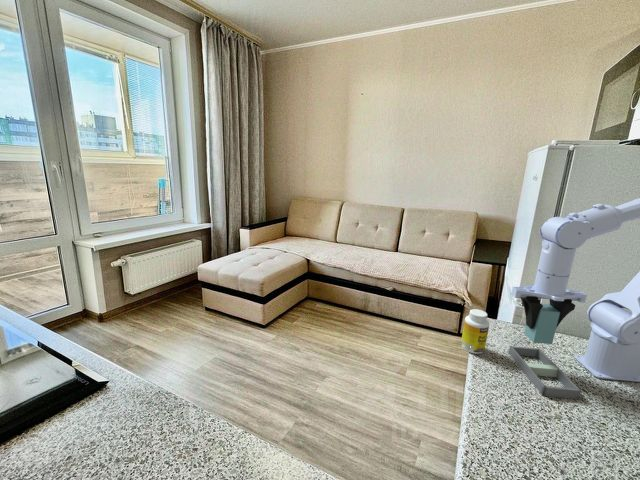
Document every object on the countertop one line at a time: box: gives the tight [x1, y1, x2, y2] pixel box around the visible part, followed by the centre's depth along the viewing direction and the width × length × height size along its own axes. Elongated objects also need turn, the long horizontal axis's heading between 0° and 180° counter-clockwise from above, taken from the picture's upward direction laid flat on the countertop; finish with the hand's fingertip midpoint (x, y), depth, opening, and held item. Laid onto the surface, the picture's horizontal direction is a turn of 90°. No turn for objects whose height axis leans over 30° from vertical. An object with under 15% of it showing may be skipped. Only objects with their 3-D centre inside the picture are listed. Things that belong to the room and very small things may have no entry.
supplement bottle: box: [460, 308, 490, 355], centre depth 77 cm, size 6×6×10 cm
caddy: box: [508, 345, 582, 400], centre depth 69 cm, size 7×14×2 cm, turn 174°
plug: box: [523, 303, 560, 345], centre depth 70 cm, size 4×4×8 cm
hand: (540, 327), depth 70 cm, fingers closed on plug, 4 cm apart
